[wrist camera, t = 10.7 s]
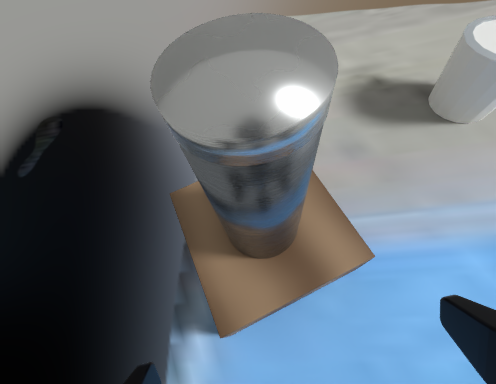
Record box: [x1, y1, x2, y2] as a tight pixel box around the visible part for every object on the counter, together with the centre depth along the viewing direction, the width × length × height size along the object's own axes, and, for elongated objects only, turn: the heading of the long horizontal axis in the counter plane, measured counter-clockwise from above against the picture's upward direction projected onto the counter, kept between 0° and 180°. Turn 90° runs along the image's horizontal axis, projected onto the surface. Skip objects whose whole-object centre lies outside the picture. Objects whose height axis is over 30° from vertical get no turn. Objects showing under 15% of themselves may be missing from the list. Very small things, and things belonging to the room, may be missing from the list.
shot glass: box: [428, 16, 496, 124], centre depth 24 cm, size 7×7×7 cm
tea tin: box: [150, 13, 338, 259], centre depth 13 cm, size 5×5×12 cm
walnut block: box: [170, 170, 375, 338], centre depth 20 cm, size 11×11×4 cm
